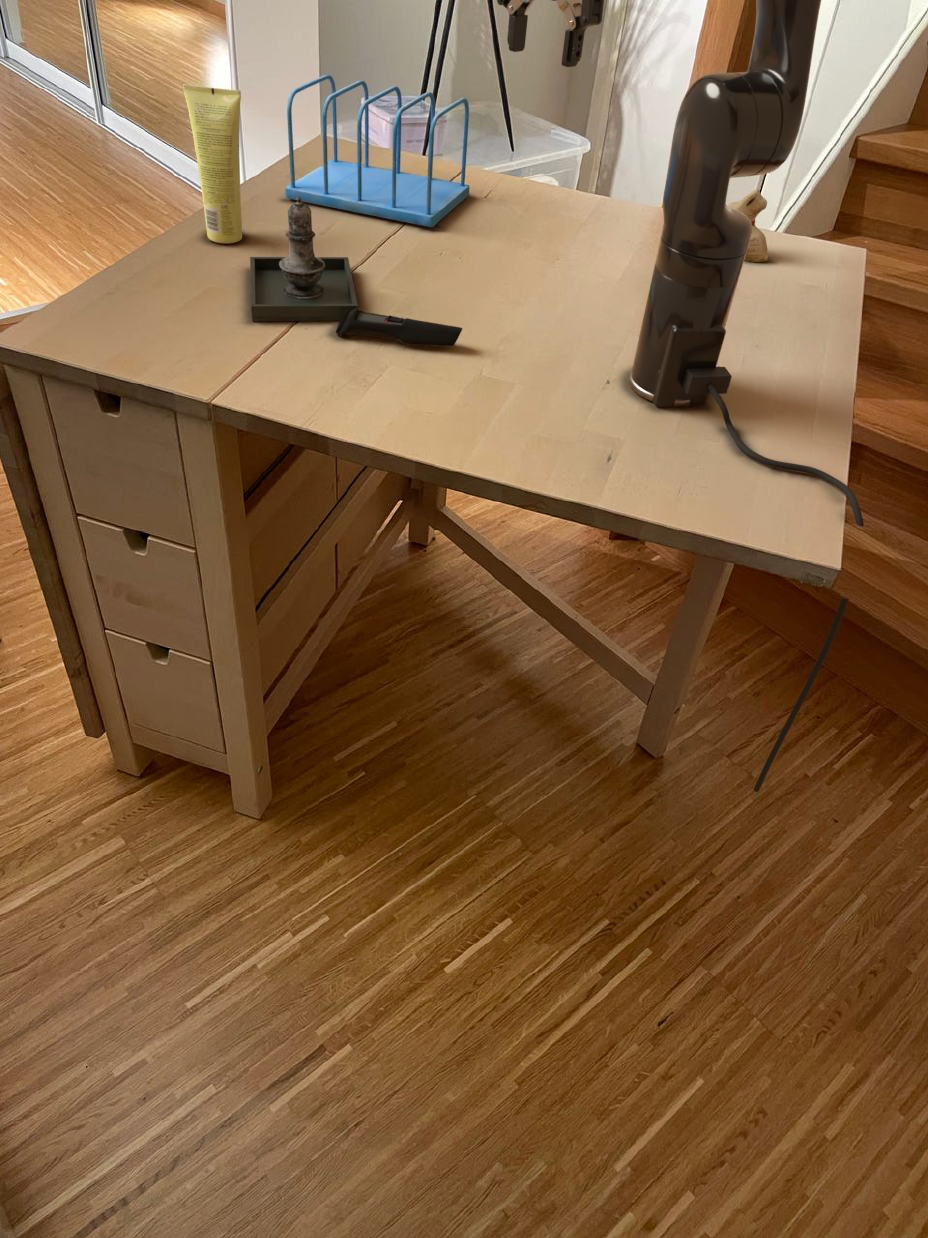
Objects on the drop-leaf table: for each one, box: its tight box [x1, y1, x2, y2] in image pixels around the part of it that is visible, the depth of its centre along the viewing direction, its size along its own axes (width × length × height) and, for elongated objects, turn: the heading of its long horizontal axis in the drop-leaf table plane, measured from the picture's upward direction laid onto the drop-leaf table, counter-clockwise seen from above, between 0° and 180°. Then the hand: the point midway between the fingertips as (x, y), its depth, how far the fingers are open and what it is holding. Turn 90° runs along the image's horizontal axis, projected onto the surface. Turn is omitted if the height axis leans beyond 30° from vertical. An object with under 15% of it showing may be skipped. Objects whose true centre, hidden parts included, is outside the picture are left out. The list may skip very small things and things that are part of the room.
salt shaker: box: [279, 196, 325, 299], centre depth 117 cm, size 6×6×12 cm
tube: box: [182, 83, 243, 244], centre depth 126 cm, size 6×5×20 cm
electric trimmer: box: [335, 308, 463, 347], centre depth 113 cm, size 4×16×3 cm, turn 80°
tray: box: [249, 256, 359, 322], centre depth 120 cm, size 15×13×2 cm
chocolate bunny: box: [727, 188, 770, 263], centre depth 140 cm, size 6×8×10 cm
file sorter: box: [285, 74, 470, 228], centre depth 144 cm, size 25×17×15 cm
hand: (542, 58), depth 110 cm, fingers open, 8 cm apart
